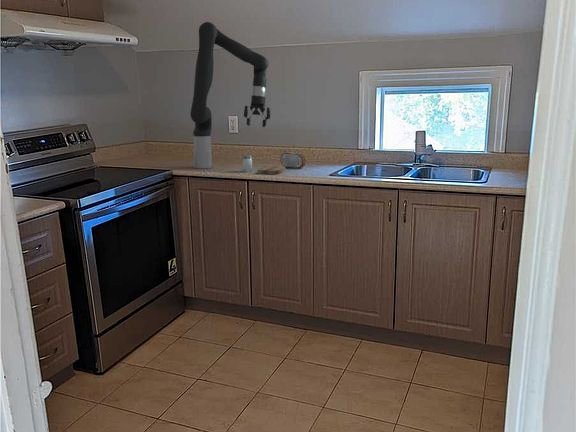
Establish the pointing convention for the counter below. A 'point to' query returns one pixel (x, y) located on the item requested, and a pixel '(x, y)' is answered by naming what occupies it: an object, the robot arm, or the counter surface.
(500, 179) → the counter surface
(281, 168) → the walnut board
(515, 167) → the counter surface
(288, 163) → the tin
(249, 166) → the jar
